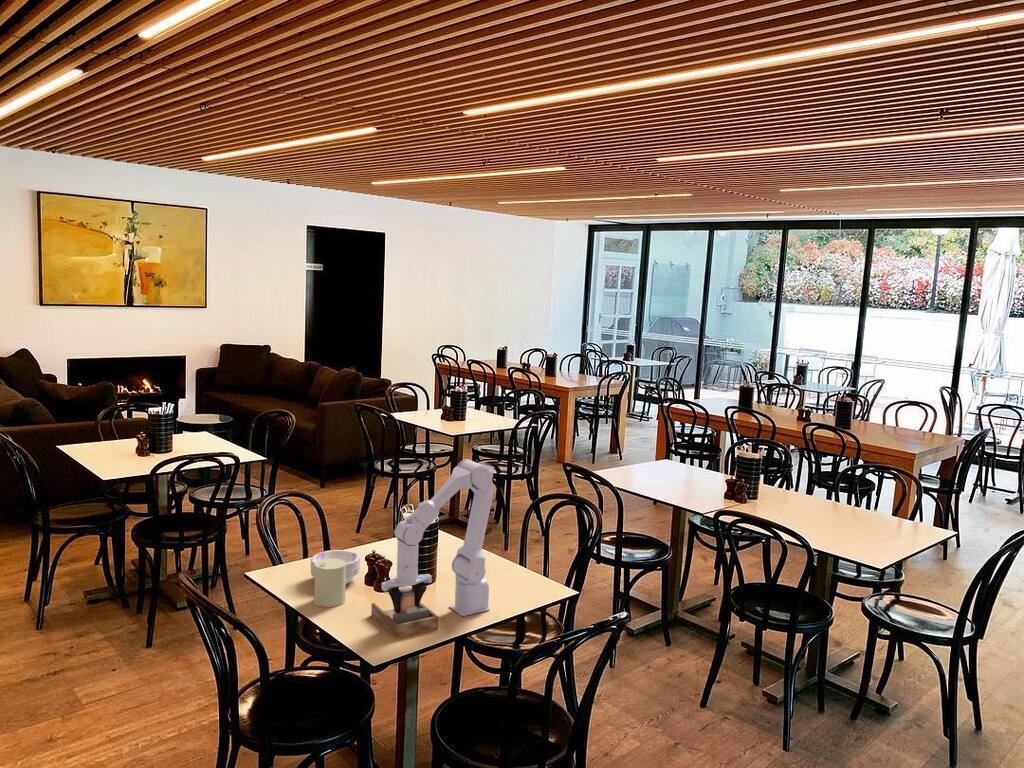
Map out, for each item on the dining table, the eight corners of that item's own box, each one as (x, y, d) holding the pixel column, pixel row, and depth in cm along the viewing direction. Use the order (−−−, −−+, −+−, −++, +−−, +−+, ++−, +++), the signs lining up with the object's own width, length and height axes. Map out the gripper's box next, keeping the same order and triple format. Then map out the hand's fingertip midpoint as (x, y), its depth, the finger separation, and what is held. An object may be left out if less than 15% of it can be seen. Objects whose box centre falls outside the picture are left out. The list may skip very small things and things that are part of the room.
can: (307, 599, 239) (308, 561, 237) (334, 592, 245) (335, 554, 244) (324, 609, 232) (325, 569, 231) (351, 601, 239) (352, 562, 237)
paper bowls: (311, 573, 260) (311, 549, 259) (359, 571, 263) (360, 548, 262) (309, 591, 245) (309, 566, 244) (359, 589, 248) (360, 564, 247)
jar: (410, 613, 229) (410, 586, 228) (417, 620, 225) (417, 592, 224) (393, 617, 227) (394, 589, 226) (400, 623, 222) (401, 595, 222)
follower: (425, 620, 227) (426, 603, 226) (429, 623, 225) (429, 605, 224) (392, 627, 221) (393, 609, 220) (395, 630, 219) (396, 612, 219)
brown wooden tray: (411, 606, 237) (411, 595, 237) (438, 628, 223) (438, 616, 223) (371, 615, 230) (371, 603, 230) (396, 638, 216) (396, 625, 216)
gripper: (424, 555, 231) (423, 600, 233) (377, 563, 223) (376, 610, 225) (435, 563, 225) (434, 609, 227) (388, 571, 217) (386, 619, 219)
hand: (406, 610), depth 225 cm, fingers closed on jar, 5 cm apart
